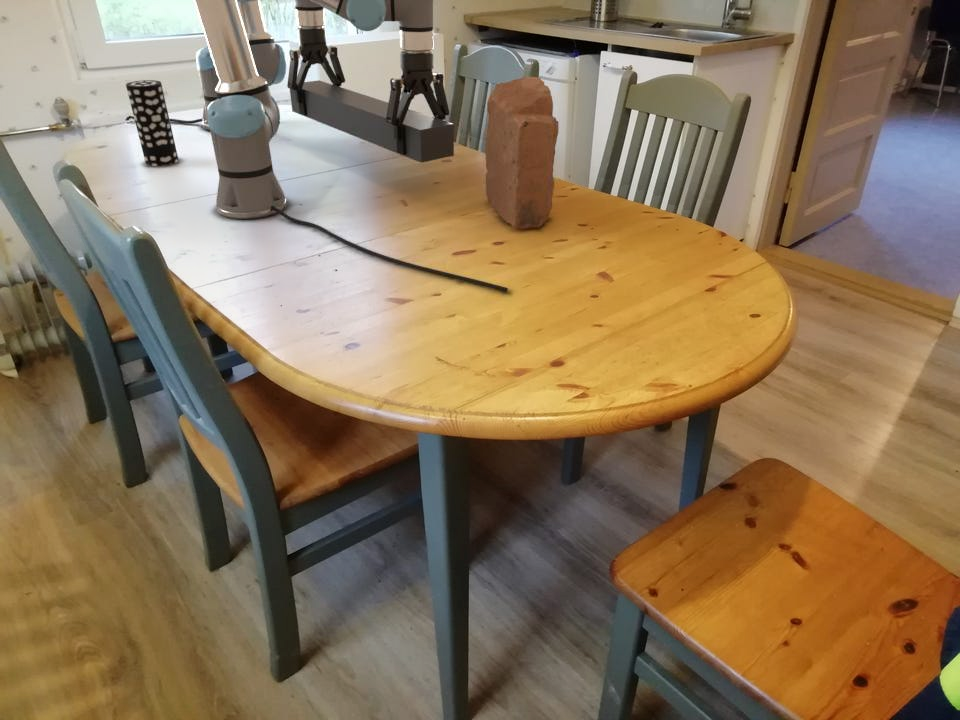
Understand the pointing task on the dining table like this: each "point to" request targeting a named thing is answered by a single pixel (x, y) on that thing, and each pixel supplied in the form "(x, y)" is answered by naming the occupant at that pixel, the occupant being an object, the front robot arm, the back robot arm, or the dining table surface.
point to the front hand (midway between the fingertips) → (419, 149)
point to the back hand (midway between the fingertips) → (319, 111)
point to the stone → (521, 151)
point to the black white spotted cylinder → (152, 122)
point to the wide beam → (376, 121)
